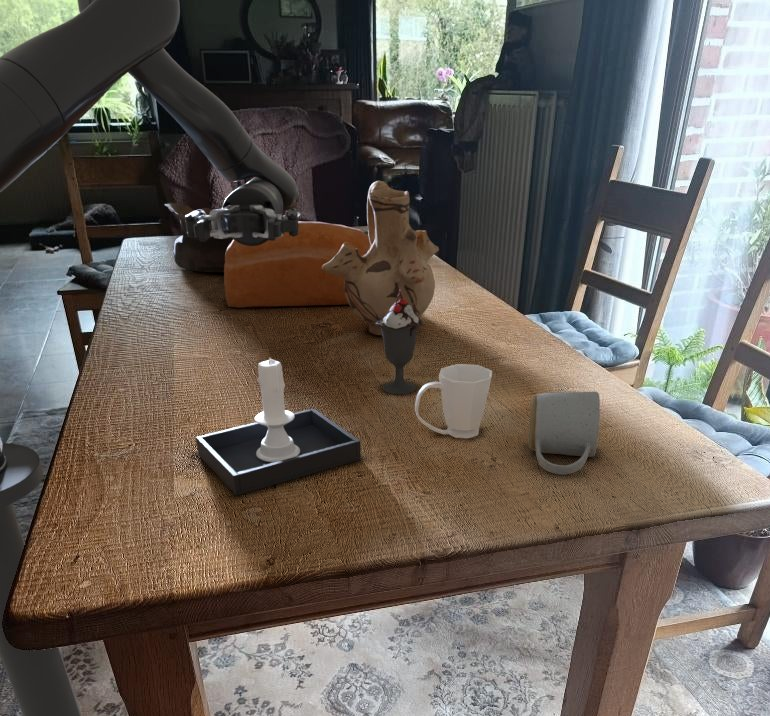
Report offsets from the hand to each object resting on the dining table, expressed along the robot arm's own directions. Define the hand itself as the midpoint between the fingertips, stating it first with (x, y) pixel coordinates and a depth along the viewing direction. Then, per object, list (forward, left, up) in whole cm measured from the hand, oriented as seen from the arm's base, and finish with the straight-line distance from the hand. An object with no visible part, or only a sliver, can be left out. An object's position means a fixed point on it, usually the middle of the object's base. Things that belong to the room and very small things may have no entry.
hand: (236, 232), depth 86 cm
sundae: (+22, -3, -24) cm, 33 cm away
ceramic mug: (+26, -33, -24) cm, 48 cm away
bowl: (+36, +93, -24) cm, 102 cm away
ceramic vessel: (+36, +22, -24) cm, 48 cm away
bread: (+34, +52, -24) cm, 66 cm away
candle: (-3, -14, -24) cm, 28 cm away
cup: (+19, -20, -24) cm, 37 cm away
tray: (-3, -14, -24) cm, 28 cm away
